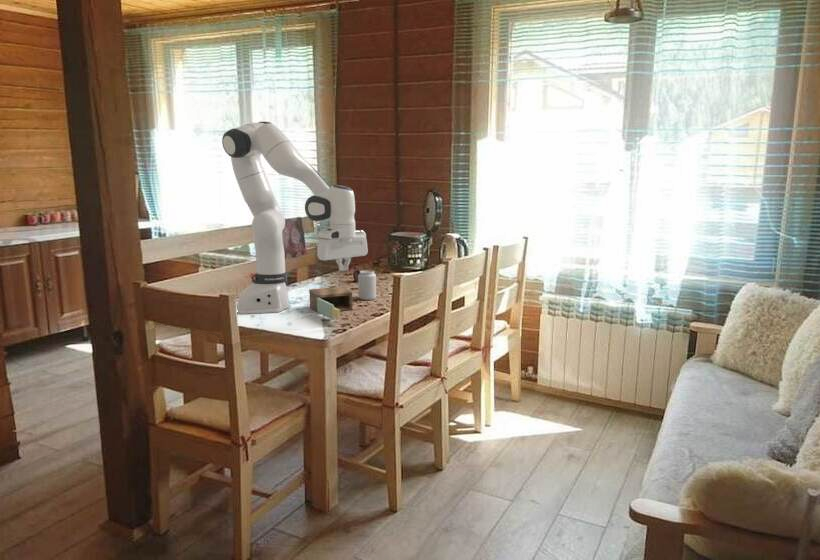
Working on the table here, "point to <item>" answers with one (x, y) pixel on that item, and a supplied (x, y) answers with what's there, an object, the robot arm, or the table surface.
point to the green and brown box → (332, 297)
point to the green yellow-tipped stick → (327, 309)
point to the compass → (356, 275)
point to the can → (367, 285)
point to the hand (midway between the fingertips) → (343, 270)
